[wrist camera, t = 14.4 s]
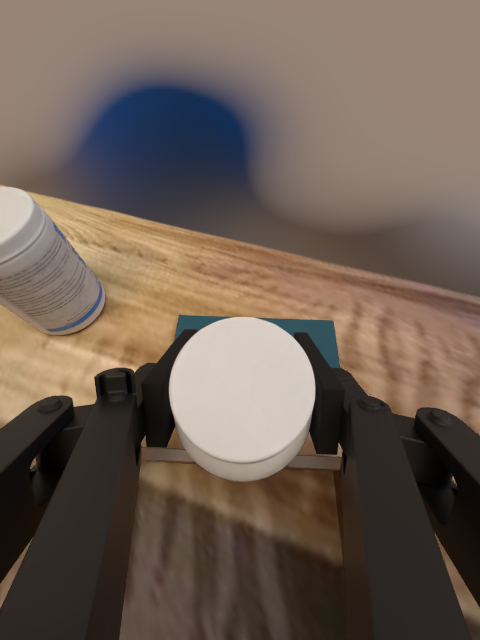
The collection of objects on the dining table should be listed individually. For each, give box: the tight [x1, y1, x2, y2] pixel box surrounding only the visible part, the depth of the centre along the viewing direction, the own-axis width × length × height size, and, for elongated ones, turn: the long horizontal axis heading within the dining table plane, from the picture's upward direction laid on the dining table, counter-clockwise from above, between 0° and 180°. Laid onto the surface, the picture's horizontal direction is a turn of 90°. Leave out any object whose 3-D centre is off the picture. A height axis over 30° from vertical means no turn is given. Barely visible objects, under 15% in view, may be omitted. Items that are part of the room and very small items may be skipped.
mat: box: [174, 315, 340, 368], centre depth 32 cm, size 20×12×1 cm, turn 87°
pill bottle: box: [169, 317, 315, 482], centre depth 13 cm, size 6×6×10 cm
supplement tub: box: [0, 187, 105, 335], centre depth 30 cm, size 10×10×15 cm
